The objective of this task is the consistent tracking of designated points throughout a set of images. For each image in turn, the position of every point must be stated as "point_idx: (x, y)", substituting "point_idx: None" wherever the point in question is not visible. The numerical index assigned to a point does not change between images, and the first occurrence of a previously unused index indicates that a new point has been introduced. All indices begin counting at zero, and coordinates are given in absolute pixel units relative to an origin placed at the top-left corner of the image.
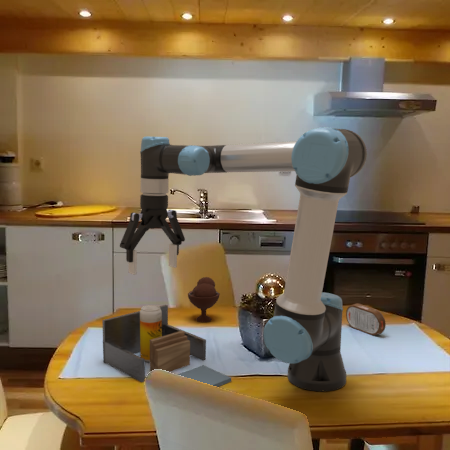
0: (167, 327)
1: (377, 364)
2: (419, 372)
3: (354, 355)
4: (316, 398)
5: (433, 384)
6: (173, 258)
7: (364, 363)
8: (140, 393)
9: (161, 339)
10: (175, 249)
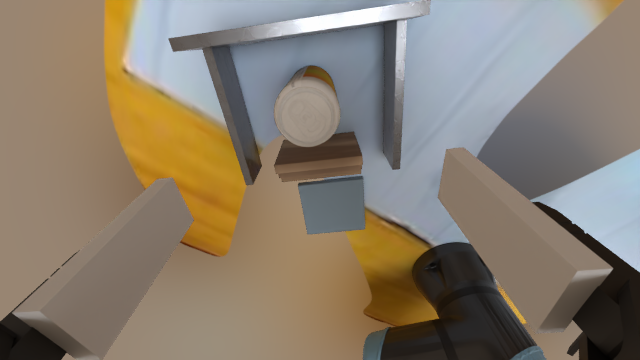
0: (395, 33)
1: None
2: None
3: None
4: (404, 290)
5: None
6: (466, 223)
7: None
8: (242, 192)
9: (299, 170)
10: (512, 292)
